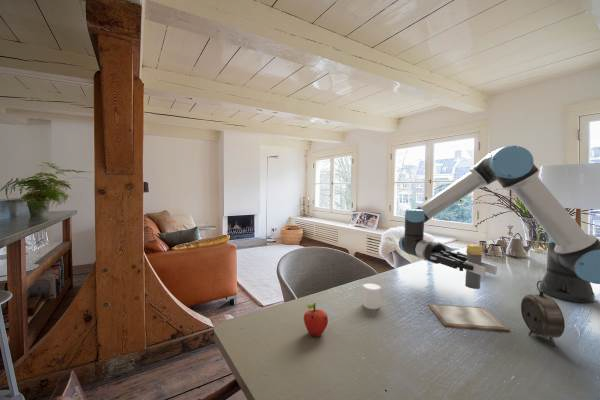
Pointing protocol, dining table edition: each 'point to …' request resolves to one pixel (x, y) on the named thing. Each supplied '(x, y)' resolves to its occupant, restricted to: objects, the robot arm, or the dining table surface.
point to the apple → (315, 321)
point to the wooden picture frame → (467, 317)
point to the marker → (474, 257)
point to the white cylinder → (371, 295)
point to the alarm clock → (542, 315)
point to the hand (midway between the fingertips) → (490, 270)
